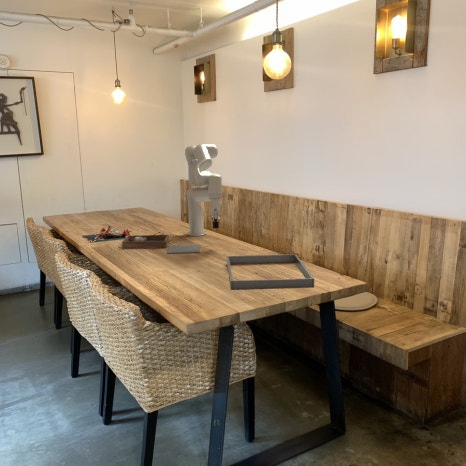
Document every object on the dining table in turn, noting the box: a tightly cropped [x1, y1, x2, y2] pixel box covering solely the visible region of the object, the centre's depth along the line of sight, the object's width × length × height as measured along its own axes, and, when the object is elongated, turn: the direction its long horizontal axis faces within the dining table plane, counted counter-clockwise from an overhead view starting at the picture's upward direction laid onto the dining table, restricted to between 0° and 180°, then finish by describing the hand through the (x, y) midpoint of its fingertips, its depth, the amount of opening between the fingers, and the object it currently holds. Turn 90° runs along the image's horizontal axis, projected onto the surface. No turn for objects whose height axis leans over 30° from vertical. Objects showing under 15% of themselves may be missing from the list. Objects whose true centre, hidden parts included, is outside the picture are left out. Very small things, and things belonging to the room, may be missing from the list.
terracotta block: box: [210, 216, 221, 230], centre depth 270 cm, size 5×5×6 cm
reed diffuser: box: [134, 231, 166, 242], centre depth 289 cm, size 10×7×20 cm
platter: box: [81, 225, 137, 244], centre depth 312 cm, size 35×27×9 cm
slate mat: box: [166, 244, 201, 255], centre depth 272 cm, size 18×18×1 cm
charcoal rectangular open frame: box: [226, 253, 315, 291], centre depth 220 cm, size 43×36×4 cm
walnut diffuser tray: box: [121, 234, 170, 250], centre depth 286 cm, size 19×26×4 cm
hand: (215, 226), depth 271 cm, fingers closed on terracotta block, 5 cm apart
